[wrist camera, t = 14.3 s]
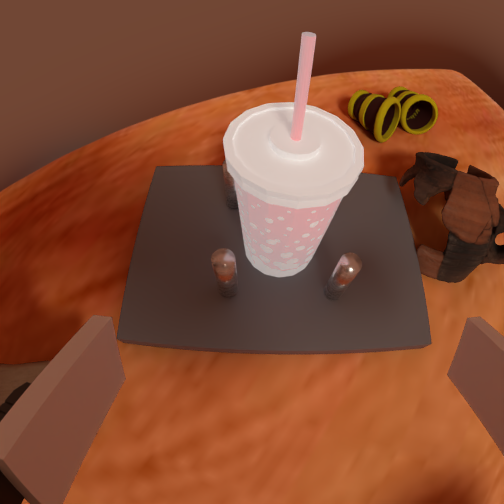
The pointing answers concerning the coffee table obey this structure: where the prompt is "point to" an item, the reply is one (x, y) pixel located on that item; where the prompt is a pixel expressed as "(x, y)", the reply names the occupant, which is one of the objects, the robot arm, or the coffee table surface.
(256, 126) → the beverage cup
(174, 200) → the cup stand
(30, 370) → the wooden block
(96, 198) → the coffee table surface
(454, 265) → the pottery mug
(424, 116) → the opera glasses
